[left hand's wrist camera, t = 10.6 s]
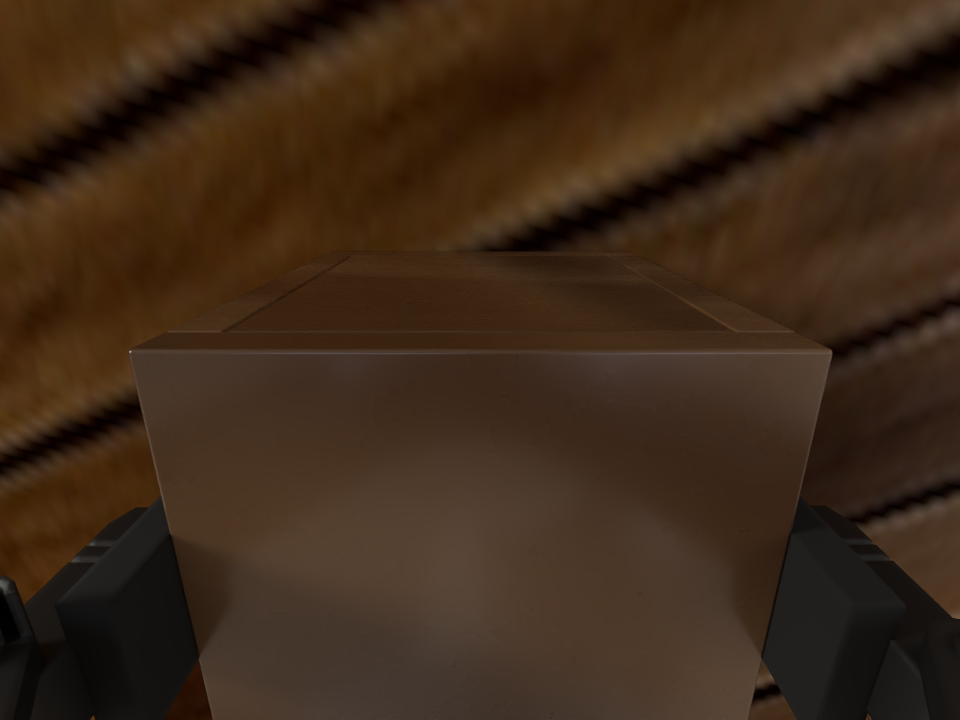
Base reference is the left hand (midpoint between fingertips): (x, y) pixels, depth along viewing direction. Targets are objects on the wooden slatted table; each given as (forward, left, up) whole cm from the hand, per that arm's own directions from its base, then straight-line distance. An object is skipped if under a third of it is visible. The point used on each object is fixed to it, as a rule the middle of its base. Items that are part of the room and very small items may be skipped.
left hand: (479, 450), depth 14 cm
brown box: (+2, +4, -6) cm, 7 cm away
